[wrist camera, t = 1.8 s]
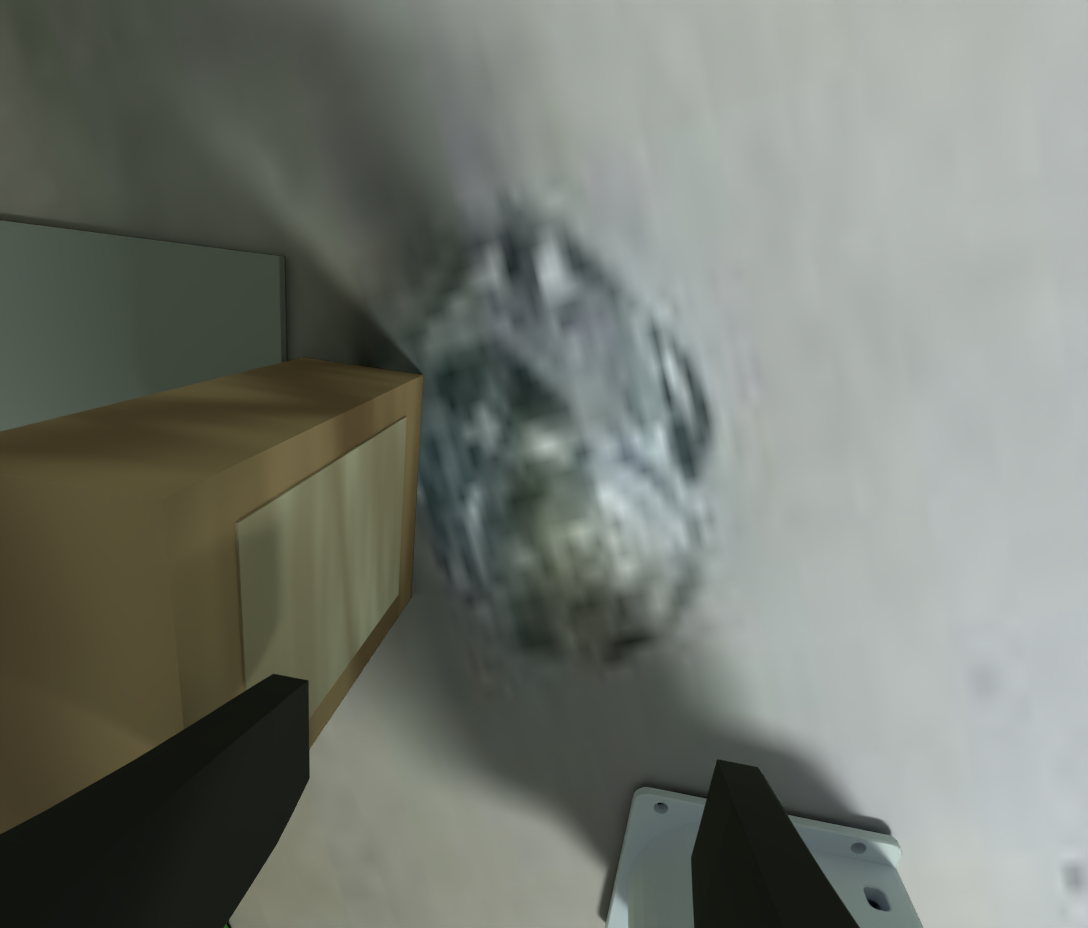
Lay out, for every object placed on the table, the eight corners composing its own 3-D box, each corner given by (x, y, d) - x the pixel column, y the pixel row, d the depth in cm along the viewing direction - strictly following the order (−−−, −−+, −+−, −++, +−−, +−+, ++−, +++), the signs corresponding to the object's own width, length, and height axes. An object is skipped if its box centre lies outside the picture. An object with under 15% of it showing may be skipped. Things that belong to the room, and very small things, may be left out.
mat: (284, 256, 18) (279, 256, 18) (292, 646, 22) (287, 651, 22) (-125, 204, 19) (-136, 203, 19) (-41, 583, 23) (-49, 587, 23)
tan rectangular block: (424, 374, 18) (165, 499, 8) (412, 597, 21) (202, 912, 11) (302, 357, 19) (-98, 455, 8) (304, 578, 21) (-1, 863, 11)
